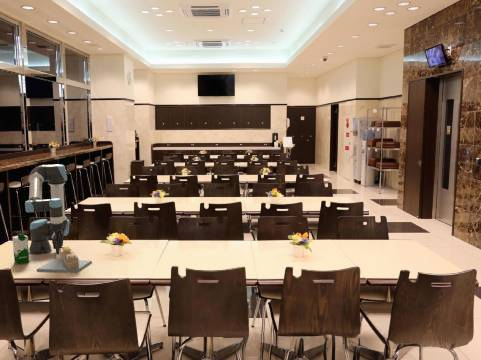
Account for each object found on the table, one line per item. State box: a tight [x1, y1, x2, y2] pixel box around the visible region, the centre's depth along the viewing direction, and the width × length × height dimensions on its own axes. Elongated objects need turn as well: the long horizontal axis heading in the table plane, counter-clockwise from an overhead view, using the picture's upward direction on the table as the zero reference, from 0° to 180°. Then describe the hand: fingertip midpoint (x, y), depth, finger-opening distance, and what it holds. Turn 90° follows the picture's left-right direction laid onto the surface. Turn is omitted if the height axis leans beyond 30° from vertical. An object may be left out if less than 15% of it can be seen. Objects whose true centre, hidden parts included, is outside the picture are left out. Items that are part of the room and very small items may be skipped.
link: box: [62, 251, 80, 270], centre depth 297 cm, size 18×6×7 cm, turn 34°
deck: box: [36, 246, 93, 274], centre depth 299 cm, size 21×27×11 cm
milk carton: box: [12, 233, 30, 265], centre depth 308 cm, size 9×9×20 cm
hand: (58, 258), depth 293 cm, fingers closed
